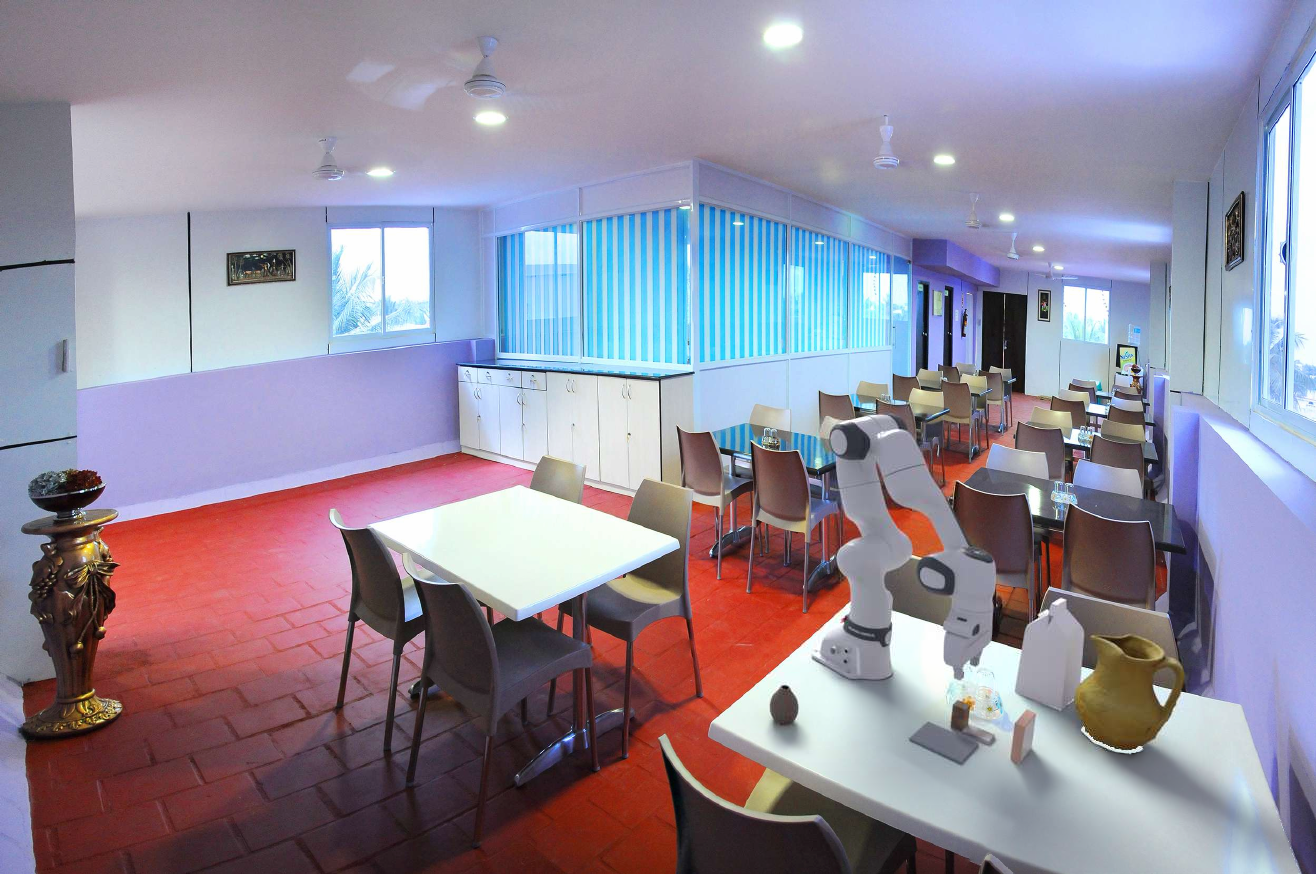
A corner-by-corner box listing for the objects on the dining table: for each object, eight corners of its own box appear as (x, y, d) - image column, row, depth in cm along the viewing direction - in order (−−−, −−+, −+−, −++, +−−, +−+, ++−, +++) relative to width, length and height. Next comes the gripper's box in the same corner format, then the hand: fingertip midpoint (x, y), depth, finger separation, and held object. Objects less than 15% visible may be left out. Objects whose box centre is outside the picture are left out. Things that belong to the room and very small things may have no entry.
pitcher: (1097, 709, 175) (1114, 619, 169) (1177, 754, 159) (1199, 657, 153) (1053, 726, 168) (1068, 633, 162) (1131, 776, 152) (1152, 675, 146)
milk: (1061, 711, 175) (1074, 615, 170) (1014, 691, 183) (1025, 599, 179) (1079, 695, 182) (1092, 603, 178) (1034, 677, 191) (1045, 589, 186)
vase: (783, 732, 163) (785, 698, 162) (763, 718, 169) (764, 685, 167) (803, 722, 167) (805, 689, 166) (782, 709, 173) (784, 677, 171)
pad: (909, 740, 161) (909, 738, 161) (927, 723, 168) (927, 721, 168) (961, 764, 153) (961, 762, 153) (978, 745, 160) (978, 743, 160)
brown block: (949, 728, 166) (951, 705, 165) (956, 721, 169) (958, 699, 168) (988, 744, 160) (990, 721, 159) (994, 737, 163) (997, 714, 162)
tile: (1010, 759, 155) (1014, 723, 153) (1022, 744, 161) (1026, 709, 159) (1020, 763, 153) (1024, 727, 152) (1031, 748, 159) (1036, 713, 158)
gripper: (974, 601, 171) (970, 653, 173) (940, 625, 157) (935, 681, 159) (1001, 608, 167) (996, 661, 169) (968, 634, 152) (963, 692, 155)
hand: (966, 671), depth 164 cm, fingers open, 8 cm apart
